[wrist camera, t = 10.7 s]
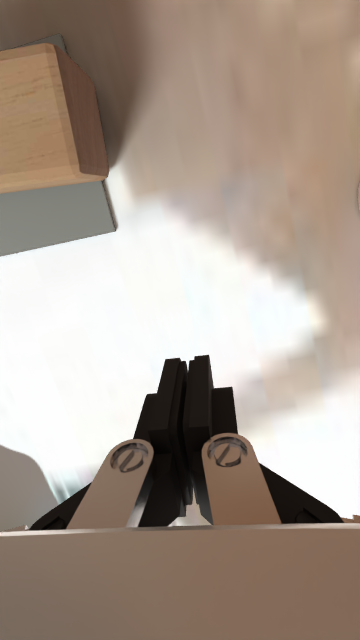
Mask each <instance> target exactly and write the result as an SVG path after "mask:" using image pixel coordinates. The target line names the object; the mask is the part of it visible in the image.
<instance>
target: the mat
mask: <svg viewBox="0 0 360 640" xmlns="http://www.w3.org/2000/svg"><path fill="white" fill-rule="evenodd" d="M42 43H51V44H54V45H57V46H58V47H59V48H60V49H61V50H62V51H64V52H65V53H66V54H67V52H66V48H65V45H64V41H63V38H62V35H61V34H60V33H59V34H56V35H53V36H50V37H47V38H44V39H40V40H37V41H34V42H31V43H28V44H25V45H22V46H18V47H15V48H20V47H25V46H31V45H36V44H42ZM12 49H14V48H12ZM115 231H116V230H115V226H114V222H113V219H112V215H111V211H110V208H109V204H108V201H107V197H106V193H105V190H104V186H103V182H102V181H94V182H87V183H79V184H71V185H64V186H56V187H48V188H41V189H33V190H25V191H18V192H10V193H2V194H0V256H5V255H9V254H14V253H19V252H23V251H28V250H32V249H37V248H42V247H46V246H51V245H55V244H60V243H65V242H69V241H74V240H78V239H83V238H87V237H92V236H97V235H101V234H106V233H110V232H115Z"/></svg>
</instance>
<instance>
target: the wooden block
mask: <svg viewBox="0 0 360 640" xmlns="http://www.w3.org/2000/svg"><path fill="white" fill-rule="evenodd" d="M108 174H109V166H108V160H107V154H106V149H105V143H104V138H103V132H102V126H101V121H100V115H99V109H98V104H97V98H96V92H95V87H94V84H93V82H92V80H91V78H90V77H89V76H88V75H87V74H86V73H85V72H84V71H83V70H82V69H81V68H80V67H79V66H78V65H77V64H76V63H75V62H74V61H73V60H72V59H71V58H70V57H69V56H68V55H67V54H66V53H65V52H64V51H62V50H61V49H60V48H59V47H58V46H57V45H54V44H51V43H42V44H36V45H31V46H25V47H20V48H14V49H9V50H3V51H0V194H2V193H10V192H18V191H25V190H33V189H41V188H48V187H56V186H64V185H71V184H79V183H87V182H94V181H102V180H104V179H105V178H107V177H108Z"/></svg>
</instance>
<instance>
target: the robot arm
mask: <svg viewBox="0 0 360 640" xmlns="http://www.w3.org/2000/svg"><path fill="white" fill-rule="evenodd" d="M358 205H359V210H360V183H359V187H358ZM193 488H194V493H195V498H196V503H197V504H199V507H200V512H201V515H202V516H203V517H204V518H205V519H206V520H207V521H208V522H209V523H211V524H212V525H205V526H171V523H172V522H173V521H174V520H175V519H176V518H177V517H186V505H192V500H193ZM0 640H360V516H358V515H353V519H347V518H341V517H340V516H339V515H338V514H337V513H336V512H335V511H333V510H332V509H331V508H330V507H328V506H327V505H325V504H324V503H322V502H320V501H319V500H317V499H316V498H314V497H313V496H311V495H309V494H308V493H306V492H305V491H303V490H301V489H300V488H298V487H297V486H295V485H294V484H292V483H290V482H289V481H287V480H286V479H284V478H282V477H281V476H279V475H278V474H276V473H275V472H273V471H271V470H270V469H268V468H267V467H265V466H263V465H262V464H260V463H259V462H258V460H257V457H256V455H255V452H254V450H253V447H252V445H251V444H250V442H249V441H248V440H247V439H246V438H244V437H243V436H240V435H238V430H237V422H236V414H235V405H234V397H233V389H232V387H225V388H214V387H213V379H212V372H211V365H210V358H209V355H203V356H195V358H194V360H190V361H189V370H187V364H186V361H181V359H180V358H173V359H166V360H165V363H164V367H163V371H162V375H161V379H160V383H159V387H158V391H157V393H155V394H147V395H146V398H145V401H144V404H143V408H142V411H141V414H140V418H139V421H138V424H137V428H136V431H135V434H134V438H133V439H131V440H127V441H124V442H122V443H120V444H118V445H117V446H115V447H114V448H113V449H112V450H111V451H110V452H109V454H108V455H107V456H106V458H105V460H104V462H103V464H102V465H101V467H100V469H99V471H98V473H97V474H96V476H95V478H94V480H93V482H91V483H90V484H88V485H87V486H85V487H84V488H83V489H81V490H80V491H78V492H77V493H75V494H74V495H73V496H71V497H70V498H68V499H67V500H65V501H64V502H62V503H61V504H60V505H58V506H57V507H55V508H54V509H52V510H51V511H49V512H48V513H47V514H45V515H44V516H42V517H41V518H40V519H39V520H37V521H36V522H35V523H34V524H33V525H32V526H31V528H30V529H28V528H27V526H26V525H23V526H19V527H16V528H12V529H8V530H4V531H0Z"/></svg>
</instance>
